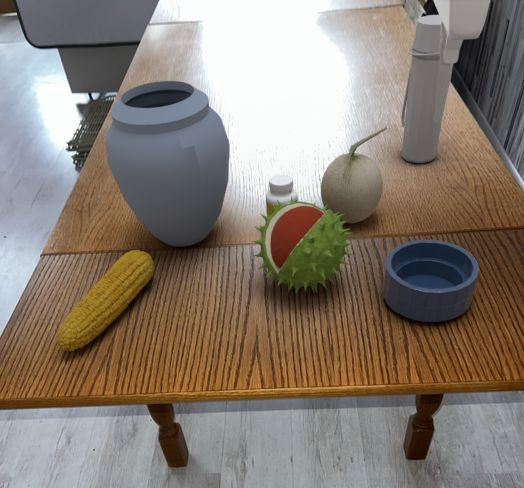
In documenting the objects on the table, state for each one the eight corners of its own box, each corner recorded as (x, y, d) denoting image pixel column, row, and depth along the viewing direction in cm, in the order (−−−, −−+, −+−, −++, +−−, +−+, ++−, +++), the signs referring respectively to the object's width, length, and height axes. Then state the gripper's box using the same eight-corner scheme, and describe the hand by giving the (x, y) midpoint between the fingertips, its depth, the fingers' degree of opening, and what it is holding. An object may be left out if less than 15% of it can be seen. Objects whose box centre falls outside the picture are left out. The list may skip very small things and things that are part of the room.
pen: (432, 119, 83) (447, 13, 73) (449, 122, 82) (467, 14, 72) (425, 125, 82) (440, 18, 72) (443, 128, 80) (460, 19, 71)
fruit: (311, 232, 96) (310, 149, 86) (330, 200, 104) (331, 120, 93) (370, 240, 93) (377, 155, 83) (385, 207, 101) (393, 125, 90)
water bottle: (445, 157, 113) (468, 18, 96) (417, 169, 110) (436, 28, 93) (412, 143, 119) (428, 10, 101) (385, 154, 116) (397, 19, 98)
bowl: (430, 263, 87) (435, 230, 83) (489, 305, 79) (499, 271, 75) (365, 290, 84) (367, 257, 79) (420, 338, 75) (426, 304, 71)
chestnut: (310, 286, 71) (222, 231, 76) (315, 330, 84) (240, 280, 89) (378, 203, 74) (289, 155, 79) (373, 257, 87) (297, 213, 92)
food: (133, 271, 92) (125, 241, 88) (162, 277, 90) (155, 246, 86) (54, 356, 78) (39, 324, 74) (86, 365, 76) (73, 333, 72)
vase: (212, 275, 89) (187, 124, 72) (110, 258, 95) (64, 115, 78) (255, 214, 102) (242, 74, 85) (163, 202, 108) (133, 69, 91)
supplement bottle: (296, 240, 95) (294, 187, 88) (265, 238, 96) (261, 187, 89) (300, 223, 99) (299, 172, 92) (270, 222, 100) (267, 171, 93)
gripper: (430, -80, 74) (417, 36, 83) (449, -52, 59) (431, 83, 69) (479, -83, 73) (461, 34, 82) (511, -56, 58) (484, 82, 68)
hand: (447, 57), depth 75 cm, fingers closed on pen, 2 cm apart
